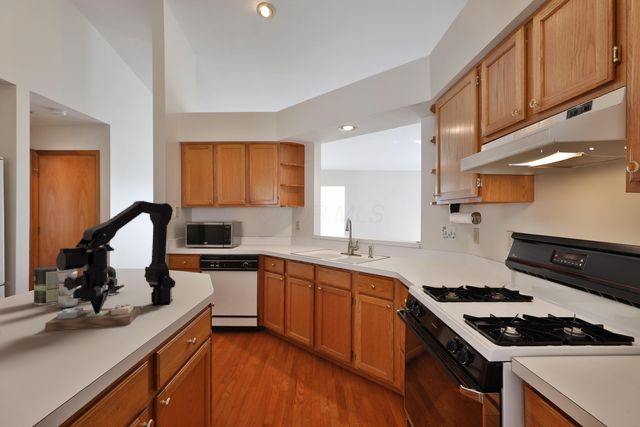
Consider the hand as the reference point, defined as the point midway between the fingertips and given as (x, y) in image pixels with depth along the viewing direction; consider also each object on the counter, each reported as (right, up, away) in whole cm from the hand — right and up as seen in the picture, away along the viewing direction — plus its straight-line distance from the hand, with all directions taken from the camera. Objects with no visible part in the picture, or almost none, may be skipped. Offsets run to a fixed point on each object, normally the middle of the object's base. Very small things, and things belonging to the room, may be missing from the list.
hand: (97, 313), depth 105 cm
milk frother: (-21, -3, +34) cm, 40 cm away
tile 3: (+7, -1, +2) cm, 8 cm away
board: (0, -3, 0) cm, 3 cm away
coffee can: (-36, -3, +25) cm, 44 cm away
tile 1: (0, -2, 0) cm, 2 cm away
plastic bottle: (-23, -3, +17) cm, 29 cm away
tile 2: (-7, -1, -2) cm, 8 cm away
